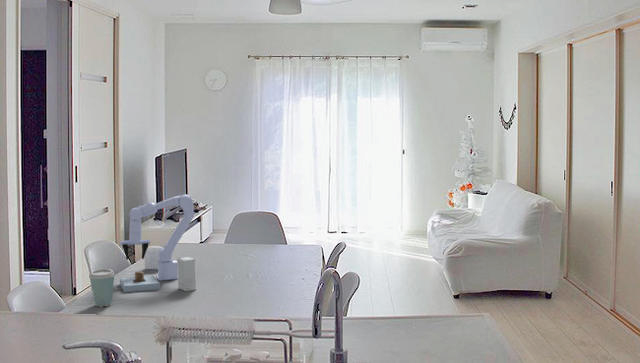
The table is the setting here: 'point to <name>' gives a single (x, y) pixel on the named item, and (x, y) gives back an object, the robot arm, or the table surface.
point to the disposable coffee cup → (102, 286)
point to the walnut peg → (139, 276)
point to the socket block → (139, 284)
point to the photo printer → (152, 257)
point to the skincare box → (186, 274)
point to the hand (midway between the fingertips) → (135, 258)
